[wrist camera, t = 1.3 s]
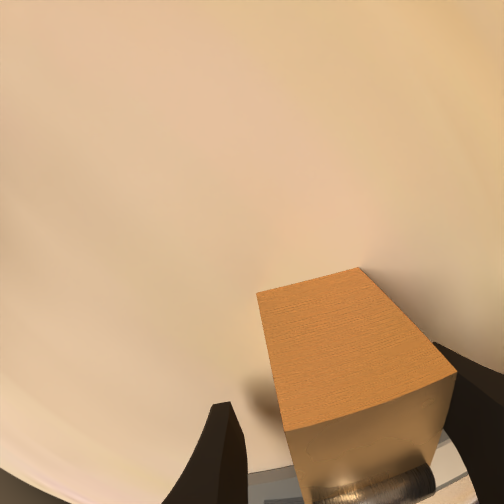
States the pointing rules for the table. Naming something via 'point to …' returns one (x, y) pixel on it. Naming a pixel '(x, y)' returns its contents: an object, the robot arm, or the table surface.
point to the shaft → (285, 501)
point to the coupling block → (355, 390)
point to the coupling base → (287, 486)
